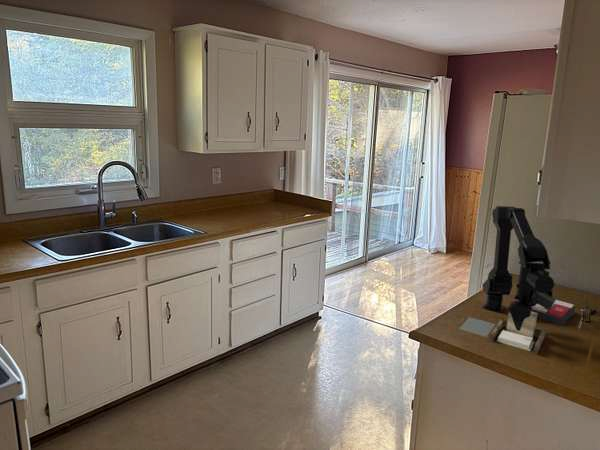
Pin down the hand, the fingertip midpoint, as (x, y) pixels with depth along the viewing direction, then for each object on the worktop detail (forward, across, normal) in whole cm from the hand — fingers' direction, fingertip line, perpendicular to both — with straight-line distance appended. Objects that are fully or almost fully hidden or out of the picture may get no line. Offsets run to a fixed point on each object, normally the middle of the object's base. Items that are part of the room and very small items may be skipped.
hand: (521, 325), depth 153 cm
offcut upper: (+3, -6, 0) cm, 7 cm away
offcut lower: (+5, -6, 0) cm, 8 cm away
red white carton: (+5, +27, -6) cm, 28 cm away
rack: (+4, -3, 0) cm, 5 cm away
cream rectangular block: (+4, 0, 0) cm, 4 cm away
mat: (+4, -3, +13) cm, 14 cm away
